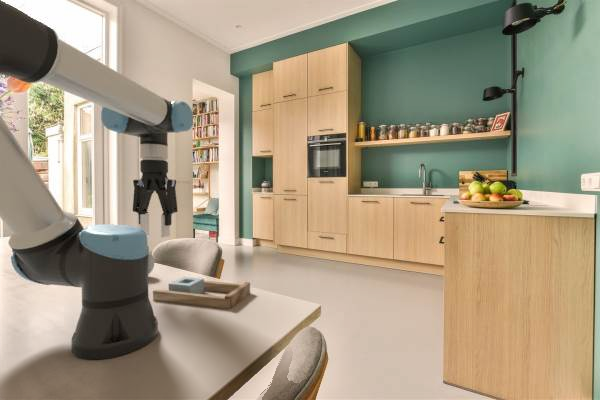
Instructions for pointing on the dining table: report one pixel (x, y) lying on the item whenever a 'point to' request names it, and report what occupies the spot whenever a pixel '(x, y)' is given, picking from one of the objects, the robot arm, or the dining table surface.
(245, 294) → the track
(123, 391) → the dining table surface
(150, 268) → the donut
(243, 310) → the dining table surface
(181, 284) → the block
